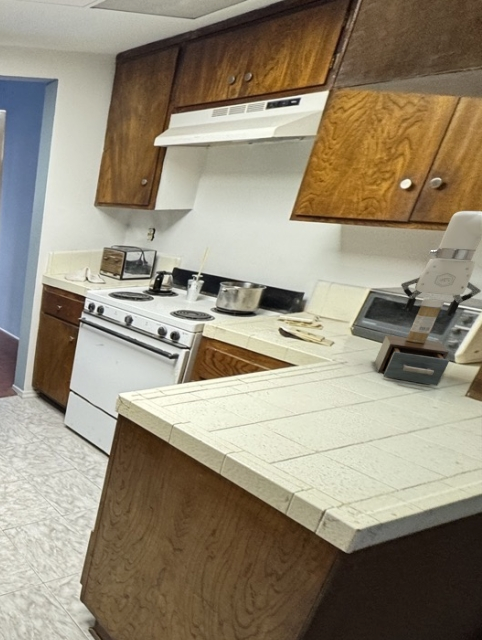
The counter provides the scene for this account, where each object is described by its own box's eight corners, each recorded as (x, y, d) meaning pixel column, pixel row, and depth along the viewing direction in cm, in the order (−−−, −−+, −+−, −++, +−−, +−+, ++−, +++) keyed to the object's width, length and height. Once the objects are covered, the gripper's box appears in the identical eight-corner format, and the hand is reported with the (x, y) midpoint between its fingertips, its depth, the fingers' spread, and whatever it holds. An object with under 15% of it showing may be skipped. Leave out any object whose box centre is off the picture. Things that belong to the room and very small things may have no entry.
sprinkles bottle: (425, 341, 150) (444, 300, 145) (425, 344, 147) (445, 301, 142) (405, 339, 153) (423, 297, 148) (404, 341, 150) (423, 299, 145)
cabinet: (434, 381, 143) (448, 351, 140) (377, 372, 151) (390, 343, 147) (427, 370, 154) (440, 342, 150) (374, 361, 161) (386, 335, 157)
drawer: (439, 389, 134) (452, 364, 131) (385, 380, 141) (396, 355, 138) (430, 374, 147) (441, 350, 144) (380, 366, 154) (390, 343, 151)
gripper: (414, 253, 142) (390, 310, 149) (501, 258, 132) (472, 319, 138) (411, 252, 148) (388, 307, 154) (495, 256, 137) (466, 315, 144)
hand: (428, 312), depth 146 cm, fingers open, 8 cm apart
